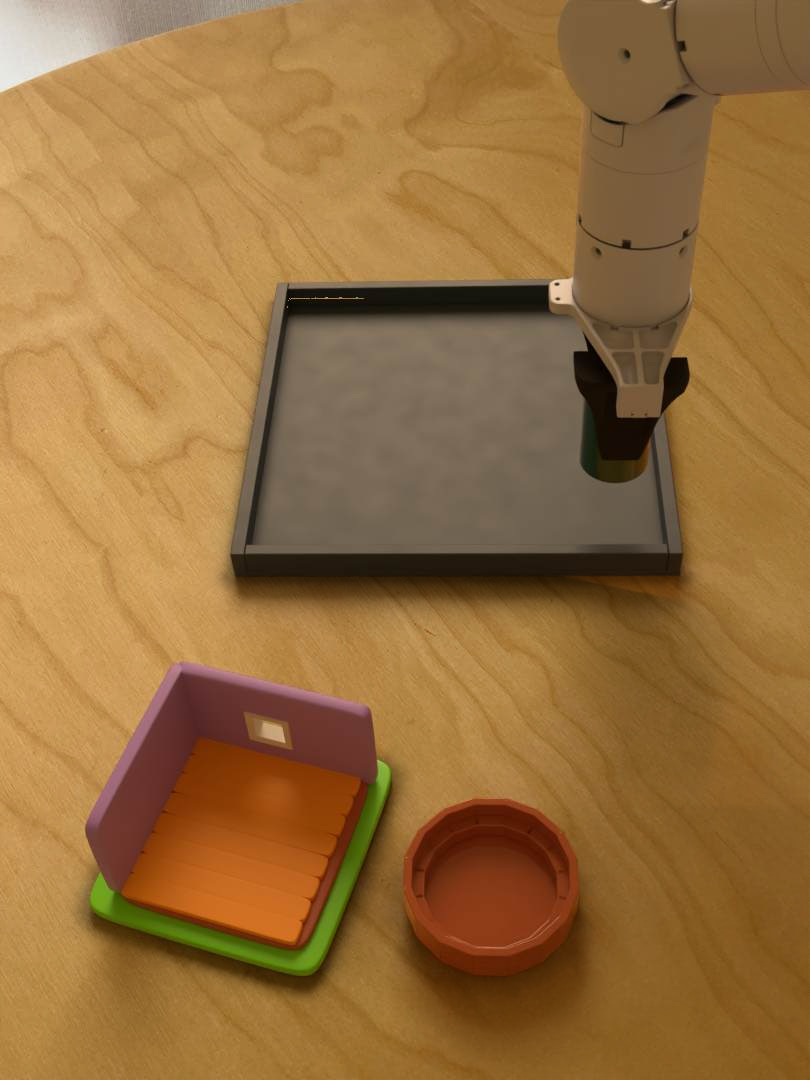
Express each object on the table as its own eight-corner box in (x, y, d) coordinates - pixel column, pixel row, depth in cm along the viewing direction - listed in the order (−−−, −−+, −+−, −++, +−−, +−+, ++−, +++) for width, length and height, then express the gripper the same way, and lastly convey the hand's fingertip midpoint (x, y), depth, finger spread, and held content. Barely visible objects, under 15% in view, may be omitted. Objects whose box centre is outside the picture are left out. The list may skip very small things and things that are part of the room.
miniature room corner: (186, 715, 71) (162, 635, 66) (399, 769, 68) (392, 689, 63) (81, 915, 64) (46, 842, 58) (317, 985, 61) (301, 914, 56)
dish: (572, 825, 66) (574, 798, 64) (579, 982, 60) (582, 957, 58) (409, 823, 66) (406, 796, 64) (402, 978, 61) (399, 954, 59)
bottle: (645, 436, 76) (659, 308, 69) (650, 483, 73) (666, 356, 67) (577, 436, 76) (585, 309, 69) (580, 483, 74) (589, 357, 67)
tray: (644, 299, 93) (646, 276, 92) (680, 576, 76) (683, 553, 75) (280, 304, 95) (277, 282, 94) (234, 576, 78) (229, 554, 76)
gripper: (547, 134, 68) (540, 343, 78) (557, 311, 58) (548, 524, 68) (687, 131, 68) (662, 342, 78) (721, 309, 58) (687, 524, 68)
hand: (617, 427), depth 73 cm, fingers closed on bottle, 4 cm apart
